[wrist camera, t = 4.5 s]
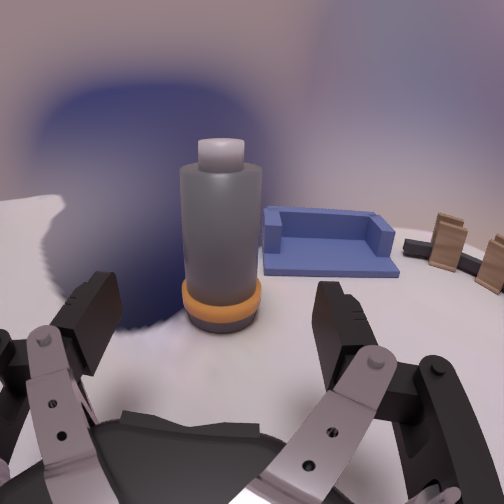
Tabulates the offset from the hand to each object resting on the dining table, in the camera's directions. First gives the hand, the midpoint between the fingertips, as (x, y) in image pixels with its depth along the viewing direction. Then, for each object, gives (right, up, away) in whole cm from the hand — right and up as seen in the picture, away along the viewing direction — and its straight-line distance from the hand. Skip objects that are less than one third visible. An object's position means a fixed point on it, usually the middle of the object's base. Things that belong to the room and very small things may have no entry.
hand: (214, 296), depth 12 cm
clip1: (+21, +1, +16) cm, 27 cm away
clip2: (+26, -1, +13) cm, 29 cm away
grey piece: (-1, -2, +9) cm, 9 cm away
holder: (+8, +1, +16) cm, 19 cm away
